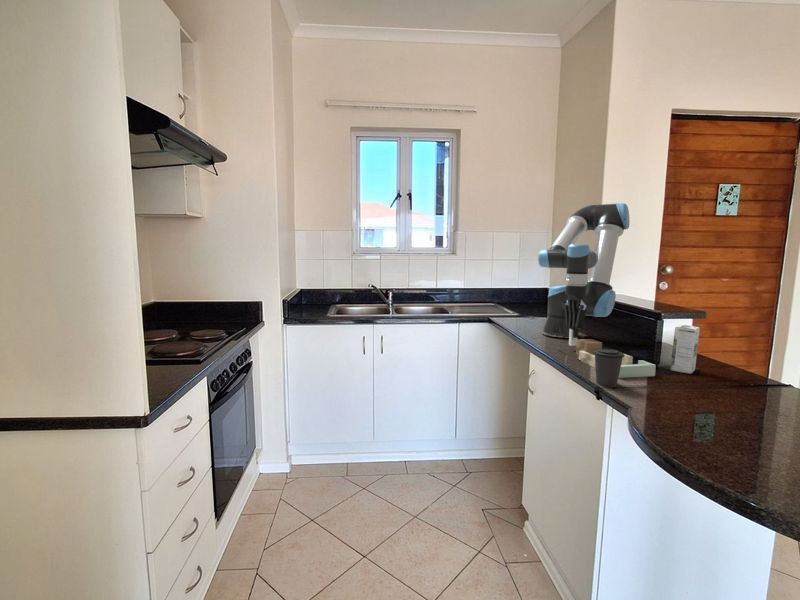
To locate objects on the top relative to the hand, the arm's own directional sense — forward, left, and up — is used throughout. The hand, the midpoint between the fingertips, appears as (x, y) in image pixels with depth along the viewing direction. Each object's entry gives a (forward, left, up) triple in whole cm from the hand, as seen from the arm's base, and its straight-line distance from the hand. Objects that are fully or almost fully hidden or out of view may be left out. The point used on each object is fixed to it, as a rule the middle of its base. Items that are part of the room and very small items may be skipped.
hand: (572, 345), depth 154 cm
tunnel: (+19, 0, -2) cm, 19 cm away
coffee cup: (+38, -13, -2) cm, 40 cm away
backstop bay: (+31, 0, -2) cm, 31 cm away
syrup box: (+30, +20, -2) cm, 36 cm away
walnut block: (+10, 0, -2) cm, 10 cm away
